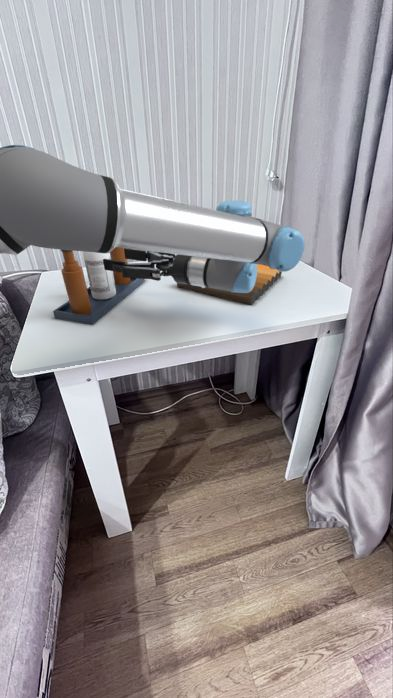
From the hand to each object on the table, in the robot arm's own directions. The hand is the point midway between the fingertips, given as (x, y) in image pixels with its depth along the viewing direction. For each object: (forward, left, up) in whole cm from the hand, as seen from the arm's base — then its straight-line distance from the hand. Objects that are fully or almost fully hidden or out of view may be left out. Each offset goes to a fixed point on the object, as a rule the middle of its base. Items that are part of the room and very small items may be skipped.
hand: (115, 258), depth 86 cm
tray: (-4, +5, -12) cm, 14 cm away
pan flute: (+34, -6, -13) cm, 37 cm away
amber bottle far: (+5, +12, -12) cm, 18 cm away
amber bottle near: (-12, -2, -12) cm, 17 cm away
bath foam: (-3, +5, -12) cm, 13 cm away
